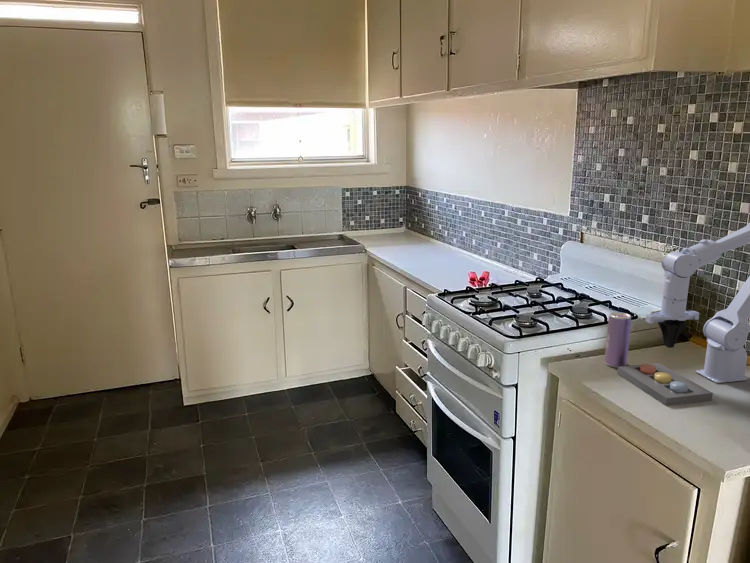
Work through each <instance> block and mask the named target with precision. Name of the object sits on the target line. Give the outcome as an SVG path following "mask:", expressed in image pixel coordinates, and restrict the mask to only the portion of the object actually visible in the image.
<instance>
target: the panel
mask: <svg viewBox="0 0 750 563" xmlns="http://www.w3.org/2000/svg"><path fill="white" fill-rule="evenodd" d="M650 364H651V365H654V366H656V372H664V373H668V374H670V375H671V376H672V378H671V382H673V381H678V382H683V383H685V384H687V385H688V391H687V393H681V394H676V393H674V392H673V391H671V390H670V383H666V384H660V383H658V382H656V381H655V380H654V376H655V374H649V375H645V374H643V373H642V372H640V365H641V364H635V365H634V364H633V365H626V366H622V367H618V368H616V370H617V371H616V373H617V374H616V375H618V376H620V377H621V378H623V379H625V380H626V381H627V382H629V383H630V384H632V385H634V386H635V387H637V388H639V390H641V391H643V392H644V393H646V394H647V395H649V396H650V397H652V398H653V399H655V400H657V401H658V402H660V403H661V404H662V405H664V406H674V405H682V404H684V405H685V404H691V403H693V404H694V403H701V402H709V401H713V395H714V393H713V392H712V391H710V390H708V389H707V388H705V387H703V386H701V385H699V384H698V383H696V382H694V381H692V380H691V379H689V378H687V377H685V376H684V375H682V374H681V373H679V372H677V371H674V370H672V368H669V367H667V366H665V365H664V364H662V363H660V362H655V363H654V362H653V363H652V362H651V363H650Z"/></svg>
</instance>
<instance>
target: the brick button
mask: <svg viewBox="0 0 750 563" xmlns="http://www.w3.org/2000/svg"><path fill="white" fill-rule="evenodd" d="M651 364H652V363H641V364H639V365H640V372H642V373H643V374H645V375H649V374H655V373H656V366H654V365H651Z"/></svg>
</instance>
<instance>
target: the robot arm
mask: <svg viewBox="0 0 750 563" xmlns="http://www.w3.org/2000/svg"><path fill="white" fill-rule="evenodd" d="M748 244H750V222H748V223H747V224H746V225H744V227H741V228H739V229H738V230H735V231H734V232H731V233H729V234H728V235H725V236H724V237H721V238H719V239H717V240H715V241H714V240H712V239H704V238H703V239H701V240H699V243H696V244H695V245H692V246H689V247H684V248H682V249H681V250H680V251H676V250H675V251H670V252H669V253H667V254H666V256H665V257H664V259H663V260H662V261H661V267H662V269H663V271H664V281H663V282H664V283H663V291H662V292H663V293H662V299H661V300H662V301H661V308H660V311H657V312H656V311H655V312H654V313H650V314H646V315H645V322H646V323H648V324H654V323H657V324H658V326H659V330H660V331H661V334H662V339H663V345H664V346H665V347H667V348H668V349H670V348H672V349H673V348H674V347H675V345H676V343H677V341H678V338H679V336H680V334H682V332H683V330H685V328H687V322H685V321H687V320H695V321H699V319H700V312H698V311H696V310H687V302H688V294H689V286H690V281H691V280H690V279H691V276H693V275H694V274H695V273H696V271H697V269H700V268H702V267H704V266H706V265H708V264H711V263H713V262H716V261H718V260H719V259H720V258H721V256H722V254H723V253H726V252H728V251H729V252H730V251H732V250H735V249H737V248H739V247H743V246H746V245H748ZM749 319H750V275H749V276H748V277H747V279H746V280H745V281H744V283H743V285H742V286H741V287H740V289H739V290H738V292H737V293H736V294H735V296H734V297H733V299H732V301H731V302H730V303H729V305H728V306H727V308H725V309H722V310H719V311H717V312H716V313H715V314H714V315H713V317H711V318H709V319H708V320H707V321H706V322H705V323H704V325H703V328H702V332H703V335H704V337H706V343H707V346H706V352H705V360H704V366H703V369H696V370H695V372H696V373H697V374H699V375H701V376H702V377H704V378H706V379H708V380H710V381H712V382H714V383H715V384H721V383H732V382H741V381H747V380H748V378H747V377H745V375H746V369H747V362H748V354H747V350H746V349H745V348H744V346H745V345H746V342H747V340H748V335H749V333H750V321H749Z"/></svg>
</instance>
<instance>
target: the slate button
mask: <svg viewBox="0 0 750 563" xmlns="http://www.w3.org/2000/svg"><path fill="white" fill-rule="evenodd" d="M670 390H671V391H673V392H674V393H676V394H681V393H687V391H688V385H687V384H685V383H683V382H678V381H673V382H671V383H670Z"/></svg>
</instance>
